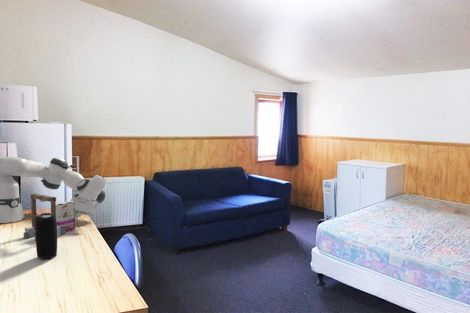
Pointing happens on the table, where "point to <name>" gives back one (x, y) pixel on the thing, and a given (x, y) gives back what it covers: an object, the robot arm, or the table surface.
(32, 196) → the aperture gantry
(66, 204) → the candy bar box
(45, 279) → the table surface
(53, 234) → the portable speaker
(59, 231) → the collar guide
